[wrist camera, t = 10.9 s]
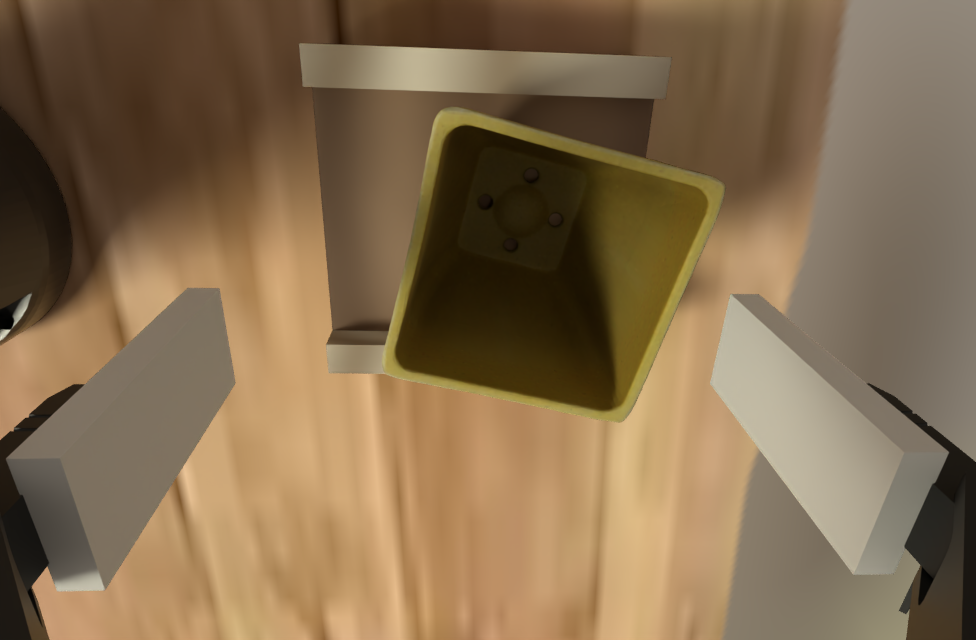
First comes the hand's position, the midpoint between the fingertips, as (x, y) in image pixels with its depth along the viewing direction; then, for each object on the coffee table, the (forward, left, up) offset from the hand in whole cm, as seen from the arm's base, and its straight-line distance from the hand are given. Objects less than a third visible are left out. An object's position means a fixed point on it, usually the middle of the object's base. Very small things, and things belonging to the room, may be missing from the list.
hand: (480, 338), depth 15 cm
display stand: (0, 0, -16) cm, 16 cm away
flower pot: (+2, 0, -12) cm, 12 cm away
